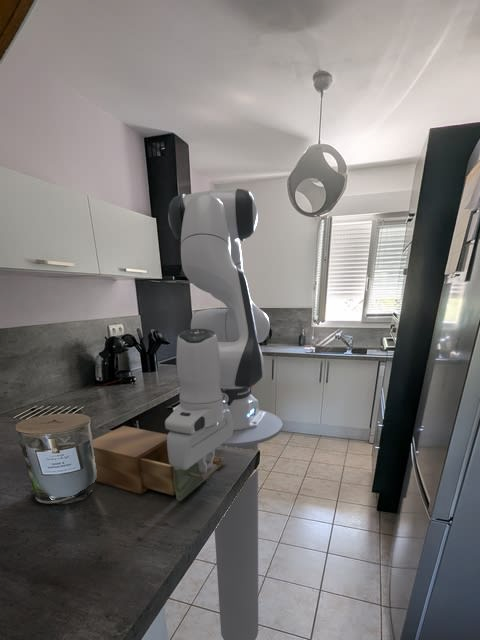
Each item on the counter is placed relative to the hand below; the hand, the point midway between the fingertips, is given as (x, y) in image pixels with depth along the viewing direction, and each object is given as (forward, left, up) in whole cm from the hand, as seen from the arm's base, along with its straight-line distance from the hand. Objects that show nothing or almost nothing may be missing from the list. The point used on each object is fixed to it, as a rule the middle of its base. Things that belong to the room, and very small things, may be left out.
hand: (206, 469), depth 79 cm
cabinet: (0, -22, -6) cm, 23 cm away
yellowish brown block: (-12, -8, -6) cm, 16 cm away
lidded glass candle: (+14, -32, -7) cm, 36 cm away
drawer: (0, -9, -5) cm, 10 cm away
